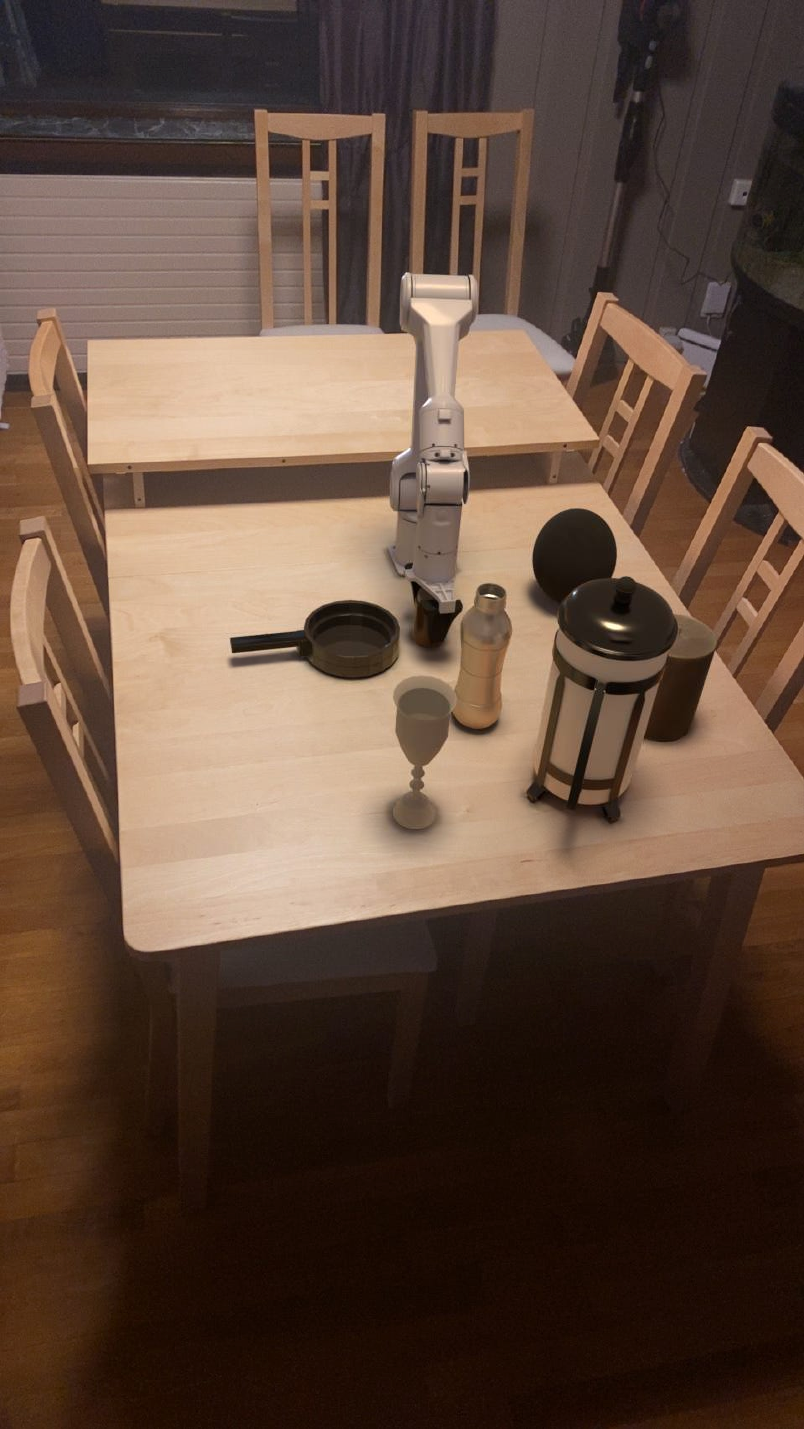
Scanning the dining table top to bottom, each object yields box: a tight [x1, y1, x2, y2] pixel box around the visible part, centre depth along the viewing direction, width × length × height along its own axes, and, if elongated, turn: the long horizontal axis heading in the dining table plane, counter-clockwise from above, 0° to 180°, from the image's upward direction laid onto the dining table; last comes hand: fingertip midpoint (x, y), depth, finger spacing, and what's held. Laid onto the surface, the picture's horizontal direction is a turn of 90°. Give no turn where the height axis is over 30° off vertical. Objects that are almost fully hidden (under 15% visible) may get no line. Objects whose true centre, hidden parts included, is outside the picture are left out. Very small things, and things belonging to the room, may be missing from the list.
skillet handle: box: [229, 629, 307, 658], centre depth 137 cm, size 10×3×3 cm, turn 104°
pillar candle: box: [644, 613, 718, 742], centre depth 129 cm, size 10×10×15 cm
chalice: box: [392, 675, 457, 830], centre depth 112 cm, size 7×7×18 cm
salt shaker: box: [411, 588, 444, 649], centre depth 141 cm, size 5×5×8 cm
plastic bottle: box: [452, 582, 513, 730], centre depth 125 cm, size 6×7×20 cm
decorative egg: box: [531, 507, 618, 605], centre depth 148 cm, size 12×12×15 cm
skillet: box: [303, 599, 401, 678], centre depth 140 cm, size 13×13×4 cm
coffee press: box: [525, 575, 678, 822], centre depth 113 cm, size 17×16×30 cm
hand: (429, 625), depth 143 cm, fingers open, 7 cm apart
